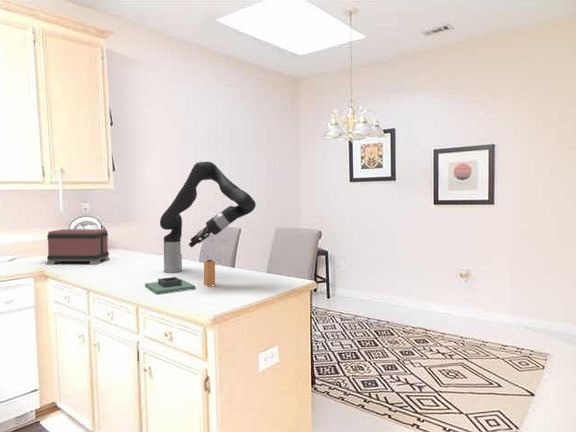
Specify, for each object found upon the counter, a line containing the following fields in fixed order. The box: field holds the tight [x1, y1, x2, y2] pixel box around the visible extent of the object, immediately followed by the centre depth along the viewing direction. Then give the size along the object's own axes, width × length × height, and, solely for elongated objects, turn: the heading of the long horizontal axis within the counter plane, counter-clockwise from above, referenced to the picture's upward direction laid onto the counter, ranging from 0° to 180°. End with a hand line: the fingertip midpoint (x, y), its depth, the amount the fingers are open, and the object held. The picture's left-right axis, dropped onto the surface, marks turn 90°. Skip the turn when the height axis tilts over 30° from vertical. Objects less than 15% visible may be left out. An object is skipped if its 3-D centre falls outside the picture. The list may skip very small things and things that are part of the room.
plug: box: [203, 259, 216, 287], centre depth 194 cm, size 4×4×13 cm
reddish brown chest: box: [45, 228, 110, 266], centre depth 257 cm, size 19×34×21 cm, turn 92°
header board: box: [144, 276, 196, 295], centre depth 189 cm, size 18×18×4 cm
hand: (190, 243), depth 190 cm, fingers open, 8 cm apart
